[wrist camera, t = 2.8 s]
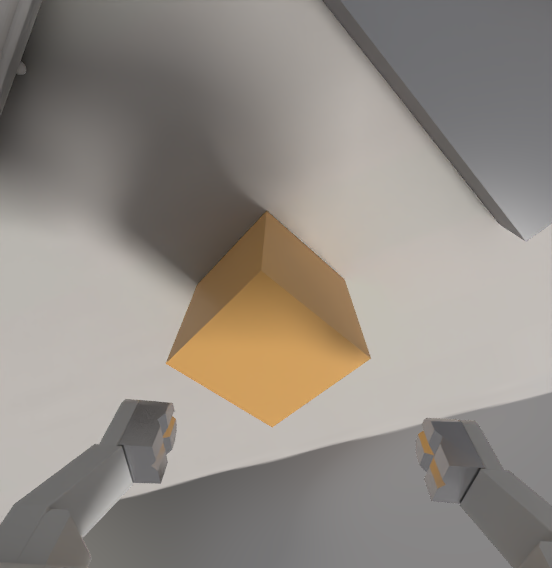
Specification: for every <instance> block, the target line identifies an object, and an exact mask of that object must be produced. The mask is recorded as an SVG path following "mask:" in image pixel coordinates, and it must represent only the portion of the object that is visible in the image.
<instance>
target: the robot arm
mask: <svg viewBox="0 0 552 568" xmlns="http://www.w3.org/2000/svg"><path fill="white" fill-rule="evenodd" d="M173 412H174V406H173V403H167V402H156V401H145V400H132V399H125V400H124V401H123V402H122V403H121V405H120V407H119V409H118V410H117V412H116V414H115V416H114V418H113V420H112V422H111V423H110V425H109V427H108V429H107V431H106V433H105V434H104V436H103V438H102V440H101V442H100V444H94V445H93V446H91V447H90V448H89V449H87V450H86V451H85V452H83V453H82V454H81V455H79V456H78V457H77V458H75V459H74V460H73V461H71V462H70V463H69V464H67V465H66V466H65V467H63V468H62V469H61V470H59V471H58V472H57V473H55V474H54V475H53V476H51V477H50V478H49V479H47V480H46V481H45V482H43V483H42V484H41V485H39V486H38V487H37V488H35V489H34V490H33V491H31V492H30V493H29V494H27V495H26V496H25V497H23V498H22V499H21V500H19V501H18V502H17V503H15V504H14V505H13V507H12V508H11V510H10V511H9V513H8V514H7V516H6V517H5V519H4V520H3V522H2V523H1V525H0V568H88V565H89V563H90V561H91V555H90V552H89V550H88V548H87V546H86V545H85V542H84V541H83V539H82V538H83V537H84V536H85V535H86V534H87V533H88V532H89V531H90V530H91V528H92V527H93V526H94V525H95V524H96V523H97V522H98V521H99V520H100V519H101V518H102V517H103V516H104V515H105V514H106V513H107V512H108V511H109V509H110V508H111V507H112V506H113V505H114V504H115V503H116V502H117V501H118V500H119V499H120V498H121V497H122V496H123V495H124V494H125V493H126V491H127V490H128V489H129V488H130V487H131V486H132V485H133V483H160V484H161V481H162V478H163V475H164V472H165V469H166V466H167V463H168V462H167V456H166V454H167V453H169V452H170V451H171V450H172V448H173V445H174V441H175V436H176V426H177V424H176V419H175V418H174V417H173V416H172V415H173ZM422 427H423V430H424V431H422V432H421V433H419V434H418V436H417V439H416V455H417V459H418V462H419V465H420V466H421V467H422V468H423V469H424V470H425V471H426V472H427V473H426V476H425V478H424V480H425V483H426V486H427V489H428V492H429V495H430V498H431V501H436V502H447V503H458V504H460V506H461V507H462V509H463V510H464V511H465V512H466V513H467V514H468V516H469V517H470V518H471V519H472V520H473V521H474V523H475V524H476V525H477V526H478V527H479V528H480V529H481V530H482V532H483V533H484V534H485V535H486V537H487V538H488V539H489V540H490V541H491V543H492V544H493V545H494V546H495V547H496V548H497V549H498V551H499V552H500V553H501V554H502V555H503V557H504V558H505V559H506V560H507V561H508V562H509V563H510V565H511V566H512V567H513V568H552V506H551V505H550V504H549V503H548V502H547V501H545V500H544V499H543V498H542V497H541V496H539V495H538V494H537V493H536V492H534V491H533V490H532V489H531V488H530V487H528V486H527V485H526V484H525V483H524V482H522V481H521V480H520V479H519V478H518V477H516V476H515V475H514V474H513V473H512V472H510V471H508V470H504V469H503V467H502V465H501V464H500V462H499V460H498V458H497V456H496V455H495V453H494V451H493V449H492V448H491V446H490V444H489V442H488V440H487V439H486V437H485V435H484V433H483V431H482V430H481V428H480V426H479V424H478V423H477V422H476V421H471V420H457V419H440V418H426V419H424V421H423V423H422Z"/></svg>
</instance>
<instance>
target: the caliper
mask: <svg viewBox="0 0 552 568" xmlns="http://www.w3.org/2000/svg"><path fill="white" fill-rule="evenodd" d="M41 3H42V0H0V116H1V113H2V111H3V108H4V105H5V102H6V100H7V97H8V94H9V91H10V89H11V86H12V83H13V80H14V78H15V75H16V74H19V75H23V74H25V72H26V66H25V64H24V63H23V62H21V58H22V56H23V53H24V50H25V47H26V45H27V42H28V39H29V36H30V34H31V31H32V28H33V25H34V22H35V20H36V17H37V14H38V11H39V9H40V6H41Z"/></svg>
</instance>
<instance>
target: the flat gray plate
mask: <svg viewBox="0 0 552 568" xmlns="http://www.w3.org/2000/svg"><path fill="white" fill-rule="evenodd" d="M323 1H324V2H325V4H326V5H327V6H328V7H329V9H330V10H331V11H332V13H333V14H334V15H335V16H336V18H337V19H338V20H339V21H340V23H341V24H342V25H343V26H344V28H345V29H346V30H347V32H348V33H349V34H350V35H351V37H352V38H353V39H354V40H355V42H356V43H357V44H358V45H359V47H360V48H361V49H362V50H363V52H364V53H365V54H366V56H367V57H368V58H369V59H370V61H371V62H372V63H373V64H374V66H375V67H376V68H377V69H378V71H379V72H380V73H381V75H382V76H383V77H384V78H385V80H386V81H387V82H388V83H389V85H390V86H391V87H392V88H393V90H394V91H395V92H396V94H397V95H398V96H399V97H400V99H401V100H402V101H403V102H404V104H405V105H406V106H407V107H408V109H409V110H410V111H411V112H412V114H413V115H414V116H415V118H416V119H417V120H418V121H419V123H420V124H421V125H422V126H423V128H424V129H425V130H426V131H427V133H428V134H429V135H430V137H431V138H432V139H433V140H434V142H435V143H436V144H437V145H438V147H439V148H440V149H441V150H442V152H443V153H444V154H445V155H446V157H447V158H448V159H449V161H450V162H451V163H452V164H453V166H454V167H455V168H456V169H457V171H458V172H459V173H460V174H461V176H462V177H463V178H464V180H465V181H466V182H467V183H468V185H469V186H470V187H471V188H472V190H473V191H474V192H475V193H476V195H477V196H478V197H479V199H480V200H481V201H482V202H483V204H484V205H485V206H486V207H487V209H488V210H489V211H490V212H491V214H492V215H493V216H494V217H495V219H496V220H497V221H498V223H499V224H500V225H501V226H503V227H504V228H506V229H507V230H509V231H511V232H512V233H514V234H515V235H517V236H518V237H520V238H521V239H523V240H524V241H528V240H529V239H530V238H532V237H533V236H535V235H536V234H537V233H539V232H540V231H542V230H543V229H545V228H546V227H547V226H549V225H550V224H552V0H323Z"/></svg>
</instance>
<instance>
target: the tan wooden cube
mask: <svg viewBox="0 0 552 568" xmlns="http://www.w3.org/2000/svg"><path fill="white" fill-rule="evenodd" d="M369 359H371V357H370V354H369V351H368V348H367V345H366V342H365V339H364V336H363V333H362V330H361V327H360V324H359V321H358V318H357V315H356V312H355V309H354V306H353V303H352V300H351V297H350V294H349V291H348V288H347V285H346V282H345V280H344V279H343V278H342V277H341V276H340V275H339V274H337V273H336V272H335V271H334V270H333V269H332V268H331V267H329V266H328V265H327V264H326V263H325V262H324V261H323V260H322V259H320V258H319V257H318V256H317V255H316V254H315V253H314V252H313V251H311V250H310V249H309V248H308V247H307V246H306V245H305V244H304V243H302V242H301V241H300V240H299V239H298V238H297V237H296V236H295V235H293V234H292V233H291V232H290V231H289V230H288V229H287V228H285V227H284V226H283V225H282V224H281V223H280V222H279V221H278V220H276V219H275V218H274V217H273V216H272V215H271V214H270V213H269V212H267V211H266V212H265V213H264V214H263V215H262V216H261V217H260V218H259V220H258V221H257V222H256V223H255V224H254V225H253V226H252V227H251V228H250V229H249V230H248V231H247V232H246V233H245V234H244V235H243V237H242V238H241V239H240V240H239V241H238V242H237V243H236V244H235V245H234V246H233V247H232V248H231V249H230V250H229V251H228V252H227V254H226V255H225V256H224V257H223V258H222V259H221V260H220V261H219V262H218V263H217V264H216V265H215V266H214V267H213V268H212V270H211V271H210V272H209V273H208V274H207V275H206V276H205V277H204V278H203V279H202V280H201V281H200V282H199V283H198V284H197V287H196V289H195V292H194V294H193V297H192V299H191V302H190V304H189V307H188V309H187V312H186V314H185V317H184V319H183V322H182V324H181V327H180V329H179V332H178V334H177V337H176V339H175V342H174V344H173V347H172V349H171V352H170V354H169V357H168V359H167V362H166V364H167V365H169V366H171V367H172V368H174V369H176V370H177V371H179V372H181V373H182V374H184V375H186V376H187V377H189V378H191V379H192V380H194V381H196V382H197V383H199V384H201V385H202V386H204V387H206V388H207V389H209V390H211V391H212V392H214V393H216V394H217V395H219V396H221V397H222V398H224V399H226V400H227V401H229V402H231V403H232V404H234V405H236V406H237V407H239V408H241V409H242V410H244V411H246V412H247V413H249V414H251V415H252V416H254V417H256V418H257V419H259V420H261V421H262V422H264V423H266V424H267V425H269V426H271V427H273V426H275V425H276V424H278V423H279V422H280V421H282V420H283V419H285V418H286V417H288V416H289V415H290V414H292V413H293V412H295V411H296V410H298V409H299V408H301V407H302V406H303V405H305V404H306V403H308V402H309V401H311V400H312V399H313V398H315V397H316V396H318V395H319V394H321V393H322V392H323V391H325V390H326V389H328V388H329V387H331V386H332V385H333V384H335V383H336V382H338V381H339V380H341V379H342V378H343V377H345V376H346V375H348V374H349V373H351V372H352V371H353V370H355V369H356V368H358V367H359V366H361V365H362V364H363V363H365V362H366V361H368V360H369Z"/></svg>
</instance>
